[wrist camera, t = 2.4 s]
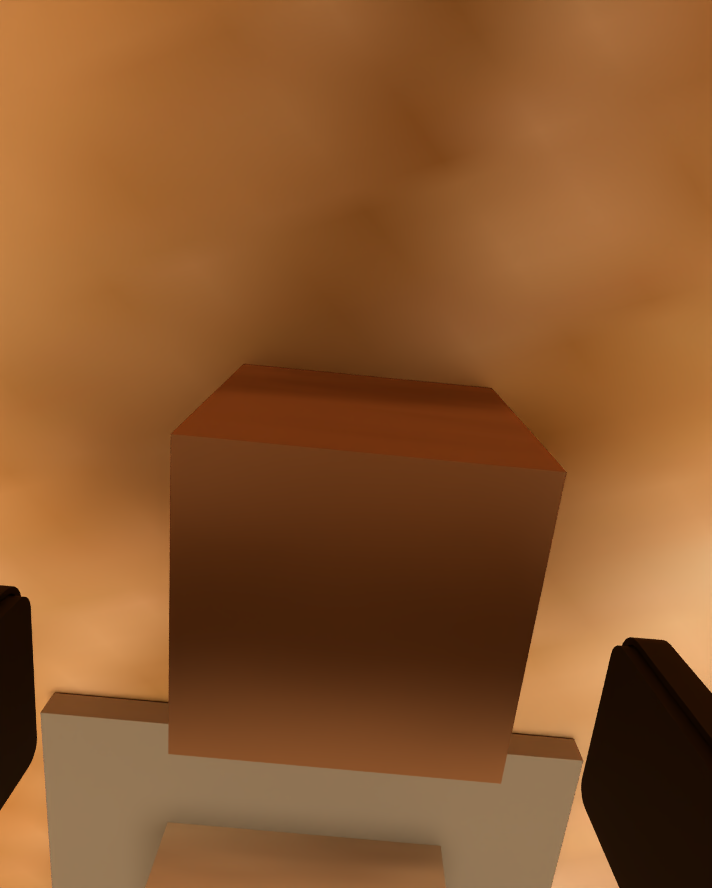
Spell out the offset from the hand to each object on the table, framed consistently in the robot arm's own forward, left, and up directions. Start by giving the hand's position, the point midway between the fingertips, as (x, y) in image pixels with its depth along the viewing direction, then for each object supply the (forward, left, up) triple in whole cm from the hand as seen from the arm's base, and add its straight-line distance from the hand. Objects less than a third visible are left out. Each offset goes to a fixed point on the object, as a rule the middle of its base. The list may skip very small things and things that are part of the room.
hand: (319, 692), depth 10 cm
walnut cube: (-1, 0, -7) cm, 7 cm away
